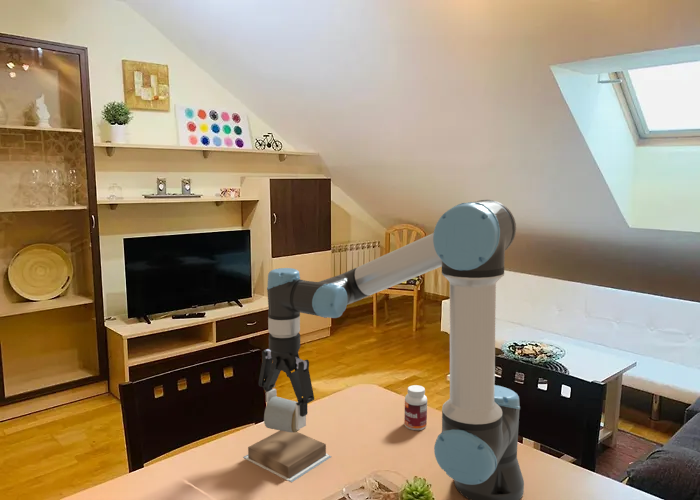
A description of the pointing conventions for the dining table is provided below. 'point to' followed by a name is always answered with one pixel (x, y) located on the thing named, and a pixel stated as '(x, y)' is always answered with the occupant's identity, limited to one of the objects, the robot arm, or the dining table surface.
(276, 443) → the walnut slab
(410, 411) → the pill bottle
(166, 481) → the dining table surface
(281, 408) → the ceramic mug
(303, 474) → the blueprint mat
